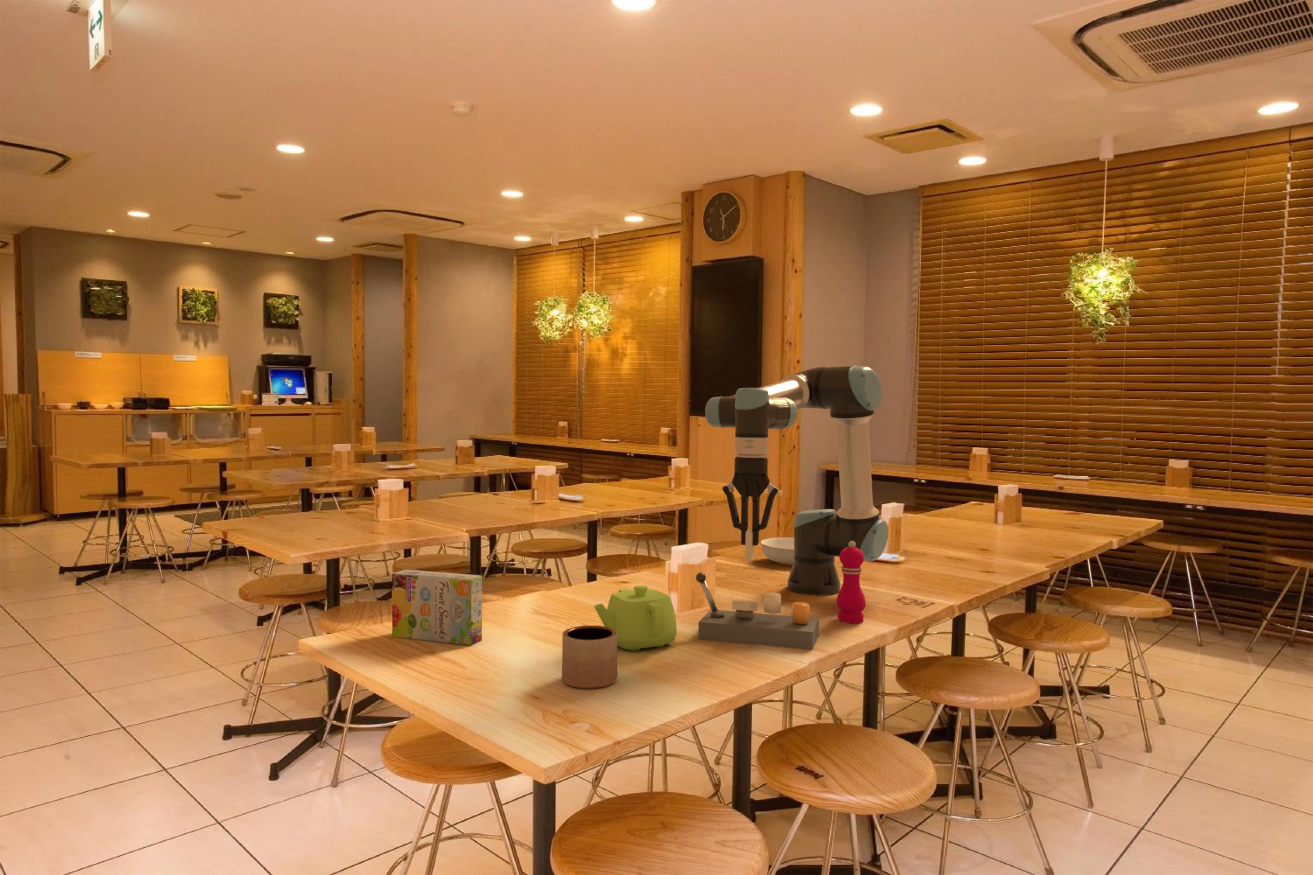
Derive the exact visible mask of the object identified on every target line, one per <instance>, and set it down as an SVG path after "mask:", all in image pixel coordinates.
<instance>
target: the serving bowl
mask: <svg viewBox="0 0 1313 875" xmlns="http://www.w3.org/2000/svg"><path fill="white" fill-rule="evenodd" d="M760 547H761V551H762V553H763V554H764V556H765V557H766V558H767V559H769V560H770V561H773V562H775V563H778V564H780V563H782V564H781V565H784V564H789V565H788V566H793V563H794V537H770V538H765V539H762V540H761V541H760Z"/></svg>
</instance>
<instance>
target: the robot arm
mask: <svg viewBox="0 0 1313 875" xmlns="http://www.w3.org/2000/svg"><path fill="white" fill-rule="evenodd" d="M882 393H883V392H882V386H881V381H880V379H879V376H878V374H877V373H876V372H875V371H874V370H873V369H872V368H870V367H869V366H858V365H847V366H846V365H845V366H820V367H819V366H818V367H812V368H808V369H806V370H805V369H804V370H802V371H799V372H795V373H793V374H789V375H786V376H785V377H784V378H782V379H781V381H778V382H774V383H771V384H768V385H765V386H761V387H741V388H738V389H736V392H735V394H733V395H729V396H723V395H720V396H714V397H711V398H709V399H708V401H707V402H706V405H705V410H704V412H705V419H706V422H707V423H708V424H709V426H712V427H715V428H716V427H718V428H721V429H723V428H734V429H735V433H734V454H735V455H736V456H735V458H734V463H733V464H734V470H733V476H732V479H731V482H729V484H726V485H724V486H722V491H723V493H724V494H725V496H726V500H727V504H728V507H729V512H730V518H731V522H732V527H733V528H734V529H738V530H740V542H741V543H740V544H741V545H742V546H745V554H744V556H745V557H744V558H745V560H744V561H747V562H748V561H749V562H750V561H753V560H754V559H755V547H756V546H758V545H759V541H760V540H759V539H760V538H759V537H760V531H762V530H765V529H766V528H767V527H768V524H769V520H770V516H771V512H772V509H773V506H774V501H775V497H776V496H777V494H778V493H779V492H780V488H779V487H778V486H775V485H773V484H772V483H771V482H770V478H769V475H768V473H769V472H768V471H769V470H768V468H769V465H768V464H769V459H768V457H766V456H767V455H768V454H769V430H784V429H788V428H791V427H792V426H793V425H794V424H796V421H797V419H798V414H799V412H798V410H799V409H819V410H821V409H822V410H829V415H830V419H831V420H833V421H834V422H835V423H836V424H835V425H836V435H837V436H836V437H837V439H836V440H837V453H838V454H837V455H838V471H839V487H840V488H839V489H840V492H839V494H840V508H839V509H838V510H837V511H836V510H835V509H831V508H825V509H823V508H821V509H810V510H809V509H808V510H802V511H800V512H797V513H796V515H795V516H794V522H793V523H794V524H793V532H794V533H793V538H794V563H793V565H791V566H792V567H791V569H790V573H789V576H788V578H787V589H788V590H789V591H792V592H793V593H798V594H804V595H812V596H813V595H817V596H818V595H819V596H820V595H822V596H823V595H833V594H837V593H839V592H840V590H841V580H840V577H839V574H838V570H837V567H836V565H835V564H836V562H835V559H836V558H835V557H837V558H839V557H840V553H841V551H842V550H843V549H844V548H847V547H849V545H848V544H849V542H850V541H854V542H855V544H856V546H855V548H858V549H860V550H861V551H862V552H863V555H864V561H868V562H872V561H873V562H874V561H876V560H878V559H879V558H880V557H881V556H882V555H883V553H884V552H885V549H886V546H887V543H888V538H889V526H888V523H887V522H886V521H885V520H884V519H882V518H881V519H880V511H879V509H878V508H876V507H875V505H874V500H873V498H874V497H873V480H872V461H871V442H870V424H869V422H870V420H871V419H872V418H873V417H874V416H875V410H877V409H878V408H879V406H880V405H881V403H882V401H881V399H882V397H883V396H882V395H883V394H882ZM735 489H736V491H737V492H738V494H739V495H740V504H741V506H740V511H741V512H740V515H739V512H738V508H737V502H736V497H735V495H734V491H735ZM766 489H767V494H768V496H767V498H766V501H765V506H764V511H763V515H762V518H761V521H760V502H761V496H762V495H763V493H764V492H765V491H766ZM750 497H751V500H752V506H751V507H752V518H751V519H752V520H751V524H752V525H751V530H750V529H749V500H750ZM739 516H740V517H739Z"/></svg>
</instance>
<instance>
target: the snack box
mask: <svg viewBox="0 0 1313 875" xmlns="http://www.w3.org/2000/svg"><path fill="white" fill-rule="evenodd" d="M391 575H392V576H391V607H392V608H391V626H392V627H391V628H392V630H391V632H392V633H391V635H392V637H393V638H402V639H412V640H419V641H420V640H421V641H429V642H438V643H447V644H454V645H455V644H456V645H464V646H472V645H474V644H476V643H479V642H481V641H483V575H479V574H465V573H455V572H442V571H441V572H439V571H427V570H415V569H403V570H399V571H396V572H393V573H392V574H391Z"/></svg>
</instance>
